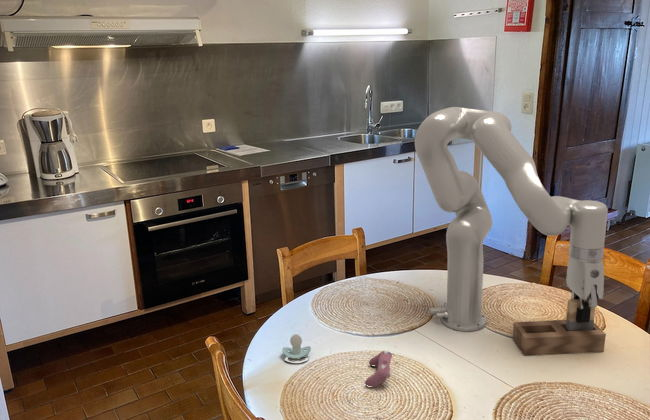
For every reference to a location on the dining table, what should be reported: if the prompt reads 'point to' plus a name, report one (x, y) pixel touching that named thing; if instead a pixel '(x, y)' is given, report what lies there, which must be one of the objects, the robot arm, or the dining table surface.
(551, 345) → the hollow wooden brick
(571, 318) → the rail end
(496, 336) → the dining table surface
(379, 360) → the purple curved piece
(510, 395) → the dining table surface
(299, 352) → the pacifier
